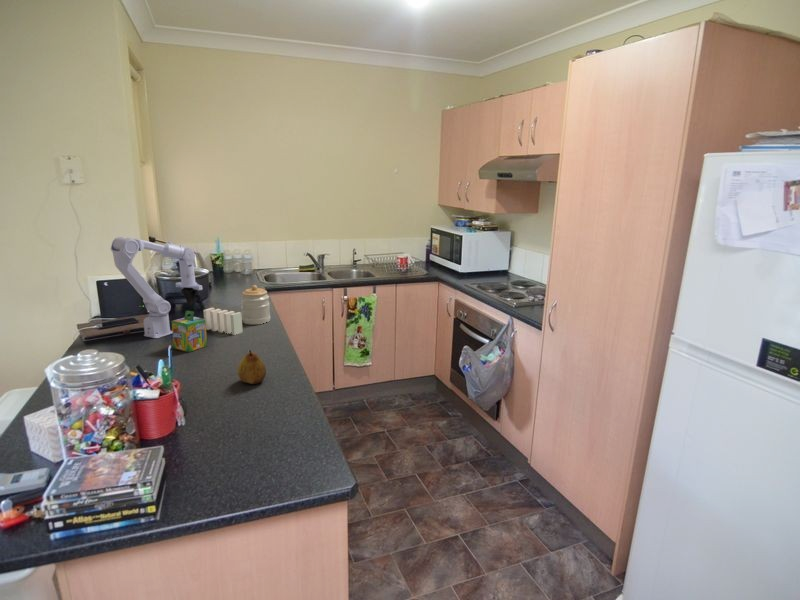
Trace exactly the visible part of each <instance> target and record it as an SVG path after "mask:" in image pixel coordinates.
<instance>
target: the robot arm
mask: <svg viewBox="0 0 800 600" xmlns="http://www.w3.org/2000/svg"><path fill="white" fill-rule="evenodd" d="M143 250H148V251H153V252H158V253H160V254H161V256H162V257H164V258H165V257H167V258H169V259H173V260H174V259H175V260H178V263H179V264H178V265H179V271H180V272H179V273H180V281H179V282H175V288H182V289H181V290H180V291H181V293H182V294H183V296H184V297H185V300H186V302H187V305H194V304H195V298H196V295H197V292H198V291H203V285H201V284H199V283H198V282H197V281H196V275H195V267H194V265H195V264H194V261H195V258H196V253H195V252H194V250H193V249H192V248H189V247H188V248H187V247H184V246H183V245H182V244H181V245H176V244H174V243H173V242H169V241H168V243H167V242H165V243H163V244H159V243H157V242H152V241H149V240H144V239H139V238H130V237H122V236H118V237H116V238H114V239H113V240H112V242H111V245H110V251H111V252H112V255H113V256H112V257H113V262H114V266H115V267H116V269H117V270H118V271H119V272H120V273H121V275H122V276H123V277H124V278H125V279H126V280H127V281H128V282H129V284H130V285H131V286H132V287H133V288H134V290H135V291H136V292H137V293H138V294H139V295H140V297H141V298H142V302H143V303H144V305H145V309H146V310H147V311H148V313H149V315H148V316H147V317H145V318H144V319H143V330H144V334H143V336H144V337H146V338H147V337H148V338H153V339H159V338H163V337H165V336H169V335H171V334H172V330H171V327H170V326H171V325H170V317H169V313H170V311H171V307H172V306H171V303H170V302H169V301H168V300H165V299H164V298H163V297H162V296H161V295H159V294H158V293H156V292H155V290H154V288H152V286H151V285H150V284H149V283H148V282H147V280H145V278H144V277H143V275H142V274H141V273H140V272H139V271H138V270H137V269H136V267H135V266H134V265H133V264H132V263H133V262H134V261H133V260H134V258H135V257H136V255H137V254H138V252H141V251H143ZM172 335H173V334H172Z"/></svg>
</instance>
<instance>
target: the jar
mask: <svg viewBox="0 0 800 600" xmlns="http://www.w3.org/2000/svg"><path fill="white" fill-rule="evenodd" d="M269 298H270V296H269V294H268V291H267V290H265V288H260V287H258V286H257V285H256V284H253V285H252V286H251V288H247V289H245V290H244V291H242V296H241V297H240V300H241V304H240V306H241V315H242V324H245V325H249V326H251V325H254V326H255V325H264V324H267V323H270V321H271V312H270V311H271V309H270V301H269ZM266 322H267V323H266ZM263 323H264V324H263Z"/></svg>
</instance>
